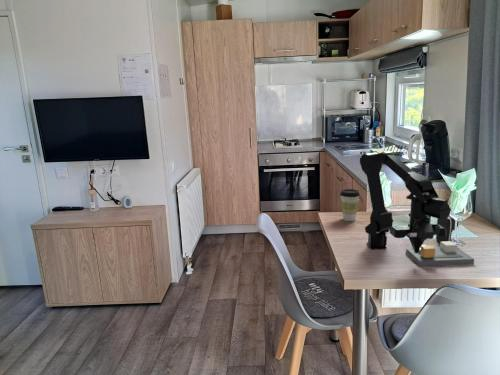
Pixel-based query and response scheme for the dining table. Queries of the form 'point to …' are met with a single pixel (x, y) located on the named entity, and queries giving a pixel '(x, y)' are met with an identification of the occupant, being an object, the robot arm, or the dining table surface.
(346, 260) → the dining table surface
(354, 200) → the coffee cup
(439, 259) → the panel
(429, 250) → the block slider
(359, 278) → the dining table surface
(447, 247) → the cream button
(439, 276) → the dining table surface
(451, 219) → the battery charger
